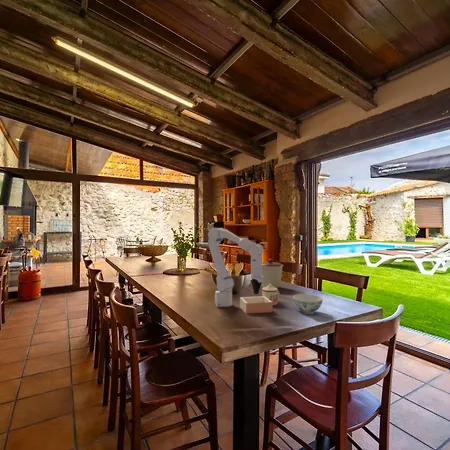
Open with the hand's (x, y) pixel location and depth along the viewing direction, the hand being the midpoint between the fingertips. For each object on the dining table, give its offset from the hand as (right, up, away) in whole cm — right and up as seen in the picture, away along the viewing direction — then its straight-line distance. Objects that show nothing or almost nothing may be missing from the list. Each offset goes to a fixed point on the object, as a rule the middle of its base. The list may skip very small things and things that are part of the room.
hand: (256, 293), depth 151 cm
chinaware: (+27, -10, -1) cm, 28 cm away
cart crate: (0, -9, +1) cm, 9 cm away
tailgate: (+1, -8, -5) cm, 10 cm away
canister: (+17, -10, +59) cm, 62 cm away
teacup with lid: (+10, -10, +14) cm, 20 cm away
